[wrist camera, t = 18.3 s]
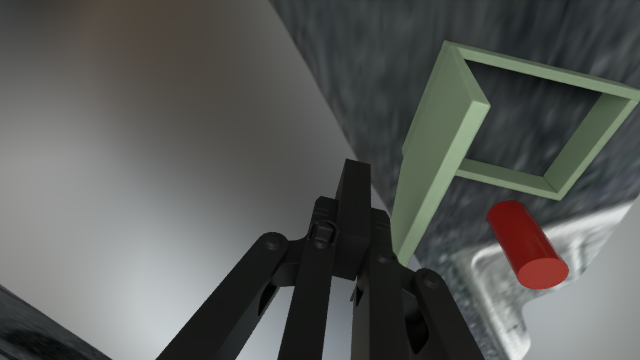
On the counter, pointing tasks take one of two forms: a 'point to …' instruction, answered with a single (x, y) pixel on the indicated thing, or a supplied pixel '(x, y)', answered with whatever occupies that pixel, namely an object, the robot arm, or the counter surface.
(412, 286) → the robot arm
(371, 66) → the counter surface
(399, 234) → the lid
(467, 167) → the green open box
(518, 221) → the tin
